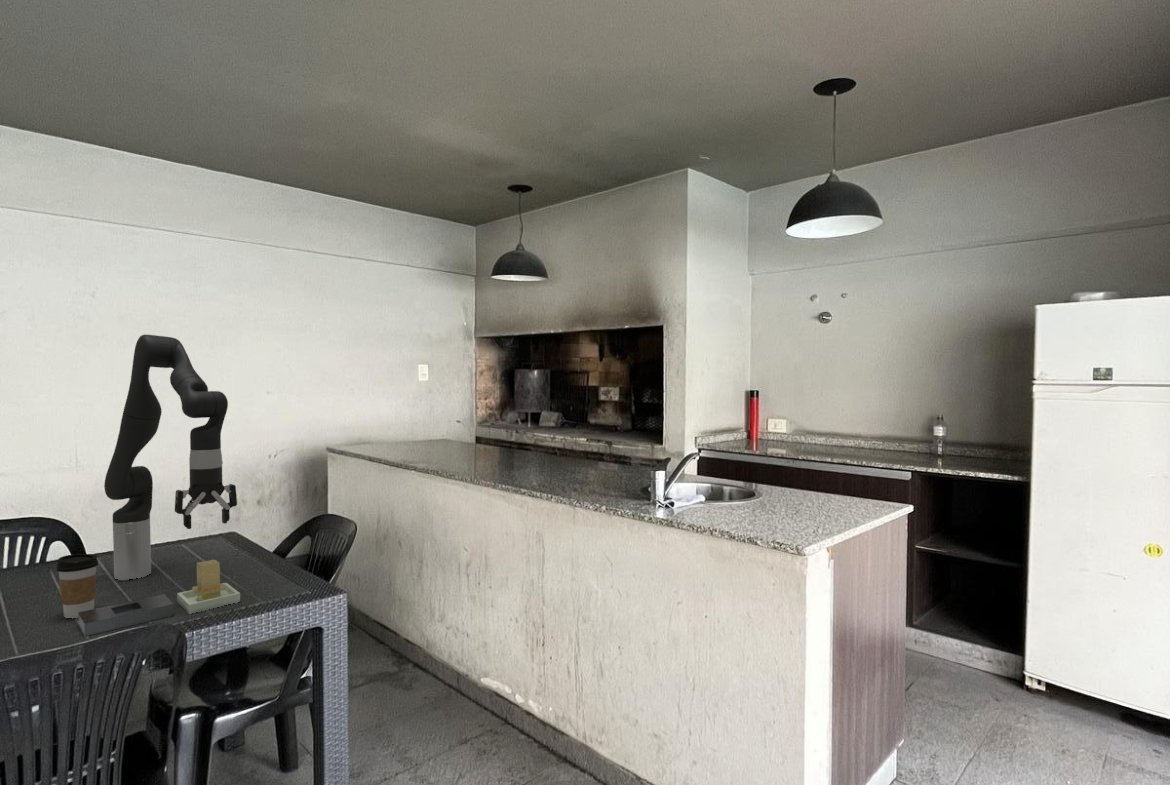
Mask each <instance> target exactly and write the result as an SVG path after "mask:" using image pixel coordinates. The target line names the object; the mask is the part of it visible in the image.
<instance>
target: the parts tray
mask: <svg viewBox="0 0 1170 785" xmlns="http://www.w3.org/2000/svg"><path fill="white" fill-rule="evenodd" d="M221 584H222V585H223V586H225V589H224V590H220V597H217V598H213V599H208V600H204V601H199V600H197V593H196V592H194V591H193V590H192V589H191V590H187V591H186V590H185V591H181V592H177V594H176V595H177V596H176V597H177V598H176V599H177V600H176V601H177V604H178V605H180V607H181V606H182V607H183V608H184V609H185V610H186V611H187V612H188V613H189V615H192V613H193V614H196V612H198V613H202V612H205V610H206V611H209V609H210V610H214V609H218V608H217V607H219V608H222V607H221V606H223V607H225V606H224V605H227V606H229V605H228V604H231V605H234V604H233V603H235V604H239V603H238V602H240V603H241V592H239V591H238V590H236V589H235V588H233V587H232V586H231V585H230V584H229V583H227V582H223V583H221ZM182 607H181V608H182ZM183 608H182V609H183ZM213 608H214V609H213ZM184 609H183V610H184ZM201 611H202V612H201ZM187 612H186V613H187ZM188 613H187V614H188Z"/></svg>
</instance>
